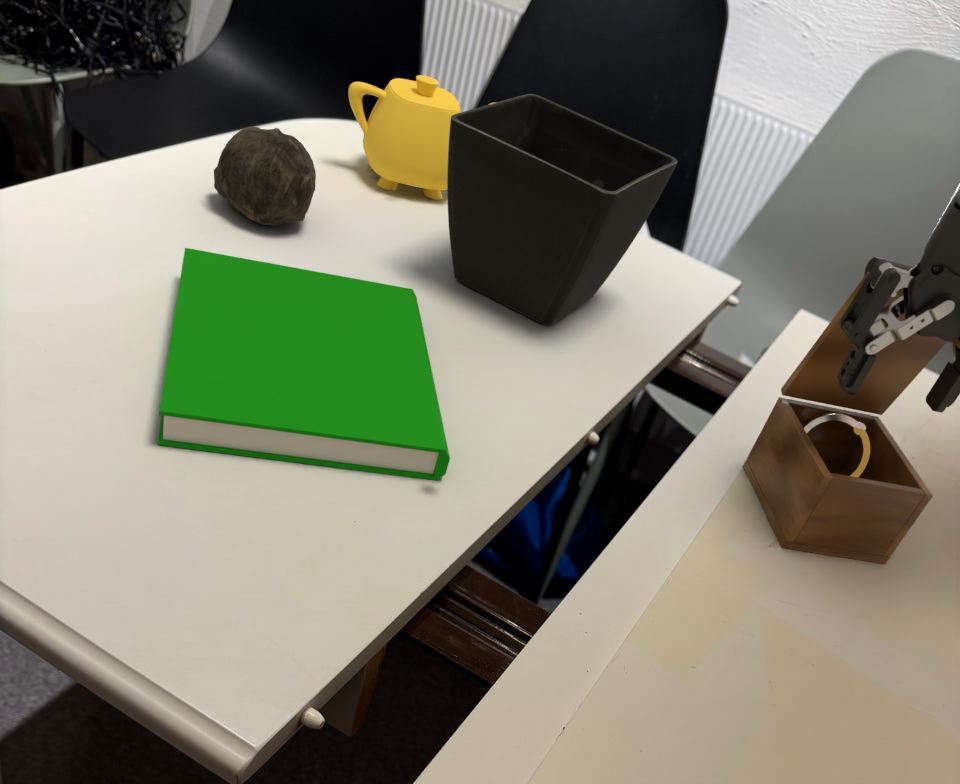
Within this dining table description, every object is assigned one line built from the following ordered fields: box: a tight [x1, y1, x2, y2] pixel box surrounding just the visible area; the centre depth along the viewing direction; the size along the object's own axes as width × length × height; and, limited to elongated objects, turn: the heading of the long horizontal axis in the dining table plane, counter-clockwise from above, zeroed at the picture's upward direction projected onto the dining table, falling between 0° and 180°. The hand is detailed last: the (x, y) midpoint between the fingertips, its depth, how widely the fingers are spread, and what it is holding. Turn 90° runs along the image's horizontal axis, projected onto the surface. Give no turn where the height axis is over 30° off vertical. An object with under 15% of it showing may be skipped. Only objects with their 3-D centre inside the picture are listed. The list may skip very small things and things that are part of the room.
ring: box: [802, 413, 870, 478], centre depth 91 cm, size 7×3×8 cm
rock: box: [213, 125, 317, 227], centre depth 105 cm, size 10×11×10 cm
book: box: [157, 247, 451, 481], centre depth 86 cm, size 22×28×3 cm
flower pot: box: [446, 93, 678, 326], centre depth 106 cm, size 19×19×17 cm
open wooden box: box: [742, 396, 934, 565], centre depth 89 cm, size 13×11×8 cm
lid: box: [780, 256, 948, 416], centre depth 86 cm, size 14×11×6 cm
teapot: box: [347, 74, 498, 201], centre depth 123 cm, size 13×20×12 cm
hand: (889, 398), depth 82 cm, fingers open, 8 cm apart
